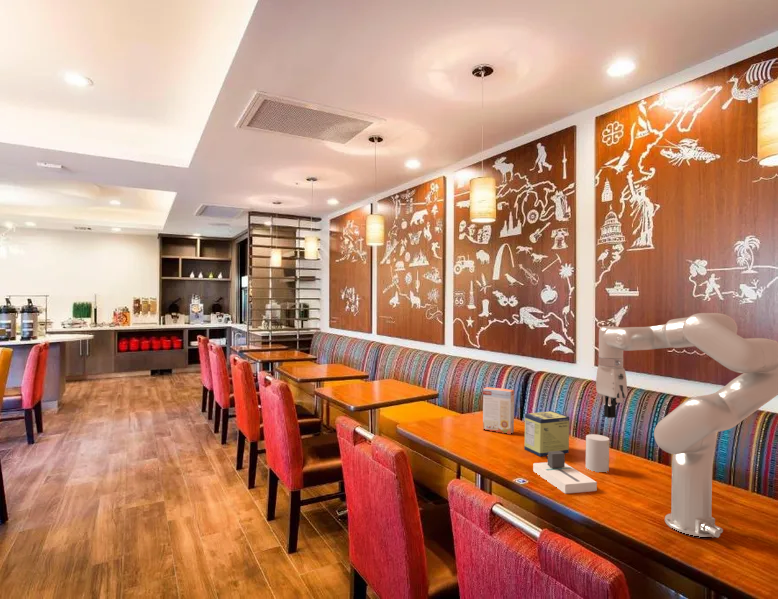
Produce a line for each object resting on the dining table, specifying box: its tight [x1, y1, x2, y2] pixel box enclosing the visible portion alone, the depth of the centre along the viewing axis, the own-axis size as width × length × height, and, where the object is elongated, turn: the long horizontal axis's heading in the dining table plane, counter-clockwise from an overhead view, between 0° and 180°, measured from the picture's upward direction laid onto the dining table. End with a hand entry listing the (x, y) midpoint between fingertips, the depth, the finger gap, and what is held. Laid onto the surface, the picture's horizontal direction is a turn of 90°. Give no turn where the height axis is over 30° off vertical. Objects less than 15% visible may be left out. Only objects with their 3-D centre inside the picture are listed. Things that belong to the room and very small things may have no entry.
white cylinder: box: [585, 433, 610, 473], centre depth 173 cm, size 8×8×12 cm
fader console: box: [532, 461, 598, 494], centre depth 161 cm, size 20×12×3 cm, turn 13°
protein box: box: [523, 410, 570, 458], centre depth 193 cm, size 10×16×16 cm
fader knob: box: [547, 451, 566, 468], centre depth 165 cm, size 3×5×5 cm, turn 103°
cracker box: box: [482, 386, 515, 435], centre depth 222 cm, size 14×6×21 cm, turn 58°
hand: (609, 416), depth 152 cm, fingers closed
